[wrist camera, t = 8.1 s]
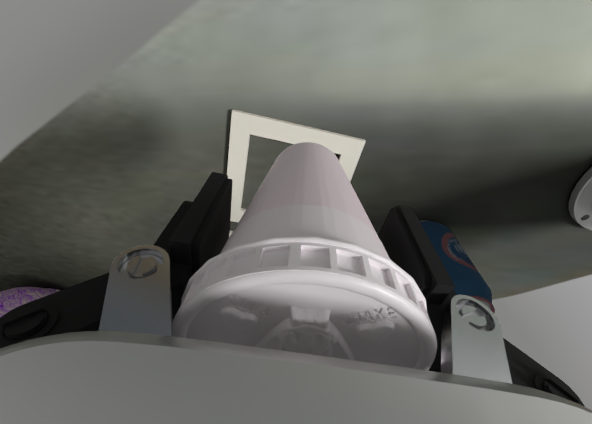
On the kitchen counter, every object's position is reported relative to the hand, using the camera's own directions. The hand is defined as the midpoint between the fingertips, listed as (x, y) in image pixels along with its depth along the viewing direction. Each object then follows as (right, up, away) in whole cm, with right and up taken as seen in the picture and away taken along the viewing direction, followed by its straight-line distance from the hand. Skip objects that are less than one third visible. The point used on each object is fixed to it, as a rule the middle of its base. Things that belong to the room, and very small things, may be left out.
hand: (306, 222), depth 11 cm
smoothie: (0, +3, +4) cm, 4 cm away
